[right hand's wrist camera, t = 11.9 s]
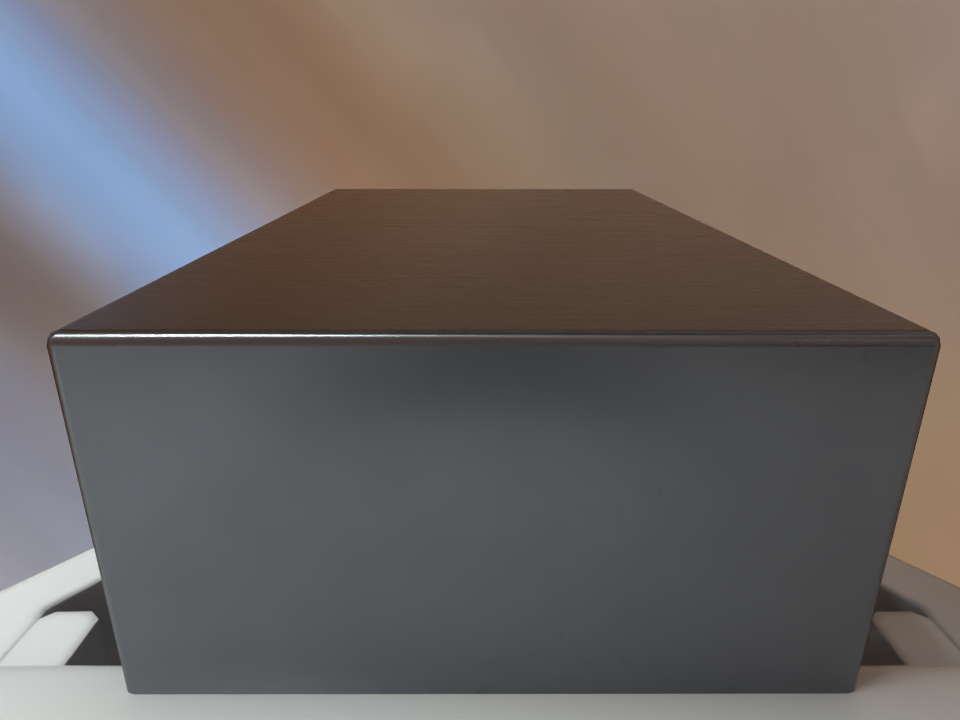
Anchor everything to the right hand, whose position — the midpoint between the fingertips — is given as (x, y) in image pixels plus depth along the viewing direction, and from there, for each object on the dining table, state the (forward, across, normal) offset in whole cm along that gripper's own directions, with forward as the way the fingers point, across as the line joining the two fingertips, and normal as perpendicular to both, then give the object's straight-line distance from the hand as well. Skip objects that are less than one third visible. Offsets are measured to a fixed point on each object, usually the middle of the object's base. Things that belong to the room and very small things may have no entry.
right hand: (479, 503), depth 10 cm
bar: (+3, 0, +9) cm, 10 cm away
